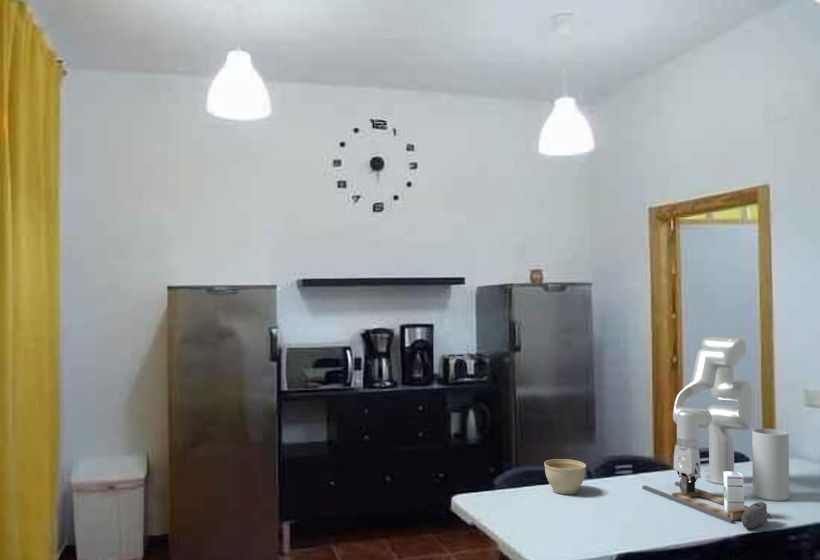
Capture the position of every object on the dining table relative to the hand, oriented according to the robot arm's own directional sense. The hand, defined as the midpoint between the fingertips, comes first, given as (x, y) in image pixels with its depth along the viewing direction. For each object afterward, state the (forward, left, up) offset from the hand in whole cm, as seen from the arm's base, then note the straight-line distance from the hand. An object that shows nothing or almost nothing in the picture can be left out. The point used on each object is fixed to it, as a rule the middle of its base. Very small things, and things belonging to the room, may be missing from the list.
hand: (687, 490), depth 274 cm
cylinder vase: (+11, +30, -3) cm, 32 cm away
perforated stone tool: (+35, -4, -3) cm, 36 cm away
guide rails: (+8, 0, -2) cm, 8 cm away
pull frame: (+14, 0, -2) cm, 14 cm away
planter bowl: (-23, -40, -3) cm, 46 cm away
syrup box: (+23, 0, -3) cm, 23 cm away
